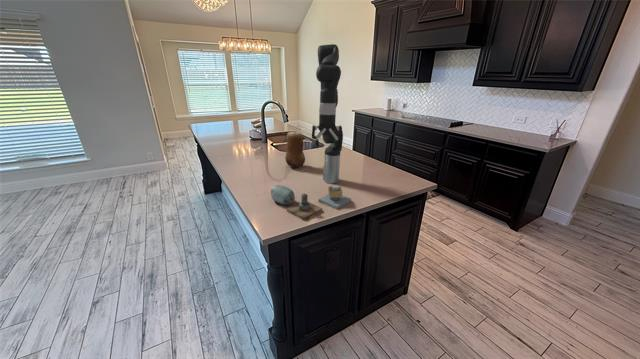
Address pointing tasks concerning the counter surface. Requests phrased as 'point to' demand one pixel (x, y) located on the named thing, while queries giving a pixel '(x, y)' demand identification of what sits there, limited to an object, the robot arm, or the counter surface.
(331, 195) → the square wooden frame
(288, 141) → the butternut squash
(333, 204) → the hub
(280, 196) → the teal-grey streaked oval part
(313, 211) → the stand
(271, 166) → the counter surface
